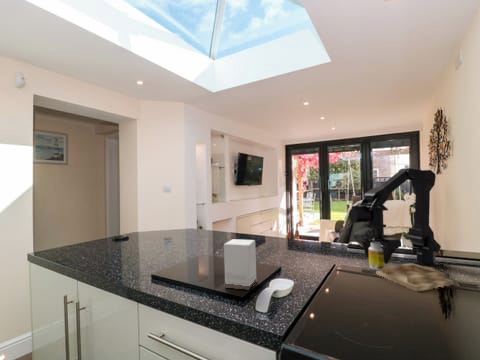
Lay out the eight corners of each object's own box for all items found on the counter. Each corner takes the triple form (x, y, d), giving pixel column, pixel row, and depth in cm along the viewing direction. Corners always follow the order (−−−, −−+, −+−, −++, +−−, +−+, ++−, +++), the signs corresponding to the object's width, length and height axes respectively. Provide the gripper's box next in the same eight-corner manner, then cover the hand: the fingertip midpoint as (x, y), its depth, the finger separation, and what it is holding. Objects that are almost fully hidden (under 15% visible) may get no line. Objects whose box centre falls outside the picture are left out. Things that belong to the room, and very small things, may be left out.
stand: (409, 270, 100) (409, 261, 100) (453, 285, 85) (453, 274, 85) (376, 274, 96) (376, 265, 96) (416, 291, 80) (416, 280, 80)
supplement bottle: (380, 271, 99) (379, 245, 99) (366, 268, 104) (365, 242, 104) (387, 268, 102) (386, 243, 103) (373, 265, 107) (372, 241, 107)
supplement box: (257, 281, 91) (256, 239, 91) (249, 291, 83) (249, 245, 83) (233, 279, 94) (232, 238, 94) (224, 288, 86) (223, 243, 86)
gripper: (343, 220, 110) (344, 256, 110) (377, 226, 92) (378, 269, 92) (364, 218, 113) (365, 253, 113) (401, 224, 95) (403, 266, 95)
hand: (376, 260), depth 103 cm, fingers open, 9 cm apart
